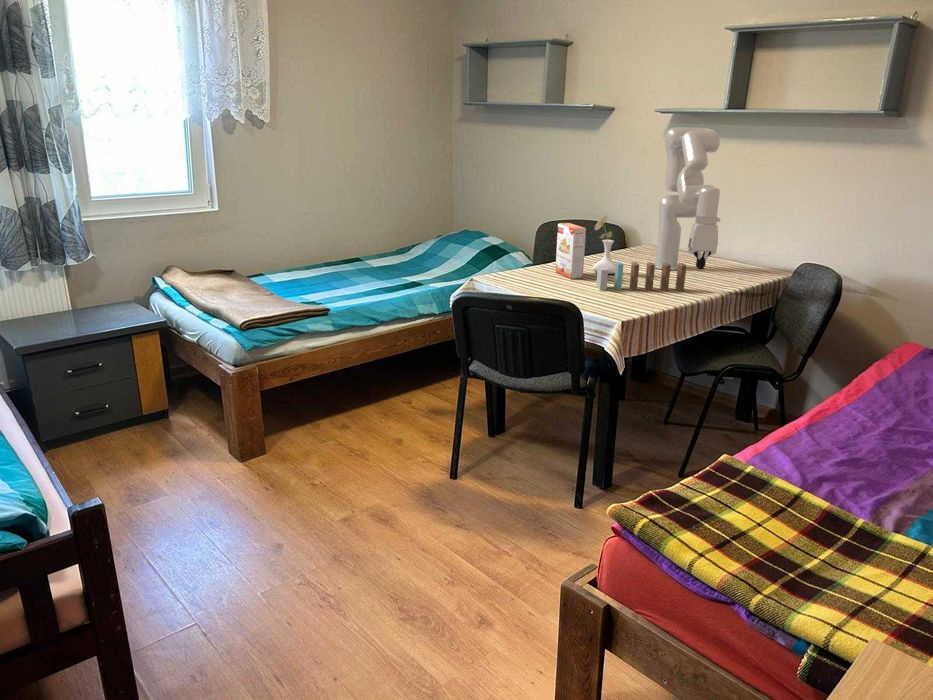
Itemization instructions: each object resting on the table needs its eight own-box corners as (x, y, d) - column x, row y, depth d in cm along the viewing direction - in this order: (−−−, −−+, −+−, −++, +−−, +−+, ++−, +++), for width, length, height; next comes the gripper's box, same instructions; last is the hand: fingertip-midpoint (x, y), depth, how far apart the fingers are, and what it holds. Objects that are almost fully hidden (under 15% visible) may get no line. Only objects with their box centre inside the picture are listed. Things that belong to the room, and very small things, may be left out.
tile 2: (663, 290, 275) (666, 265, 272) (659, 287, 280) (662, 262, 276) (668, 290, 275) (670, 265, 272) (664, 287, 280) (667, 262, 276)
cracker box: (554, 272, 303) (557, 223, 296) (567, 271, 305) (570, 222, 298) (570, 279, 291) (573, 228, 284) (583, 278, 293) (587, 227, 286)
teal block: (618, 287, 280) (620, 261, 276) (621, 290, 275) (623, 264, 272) (613, 286, 280) (616, 261, 276) (616, 289, 275) (618, 264, 272)
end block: (596, 285, 281) (597, 265, 278) (602, 285, 281) (604, 265, 278) (599, 290, 273) (601, 270, 271) (606, 290, 273) (608, 270, 271)
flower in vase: (605, 269, 312) (610, 211, 304) (624, 274, 303) (630, 214, 295) (583, 272, 305) (587, 213, 297) (602, 277, 296) (607, 216, 288)
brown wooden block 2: (678, 291, 275) (681, 265, 272) (675, 288, 280) (678, 262, 276) (683, 291, 275) (686, 265, 272) (679, 288, 280) (682, 262, 277)
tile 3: (647, 290, 275) (650, 264, 272) (644, 287, 280) (647, 262, 276) (652, 290, 275) (655, 265, 272) (649, 287, 280) (651, 262, 276)
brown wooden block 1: (632, 290, 275) (634, 264, 272) (629, 287, 279) (631, 262, 276) (636, 290, 275) (639, 264, 272) (633, 287, 280) (636, 262, 276)
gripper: (721, 219, 273) (715, 267, 278) (683, 219, 272) (677, 266, 278) (729, 222, 266) (722, 271, 271) (689, 221, 265) (683, 270, 271)
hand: (700, 268), depth 275 cm, fingers closed
